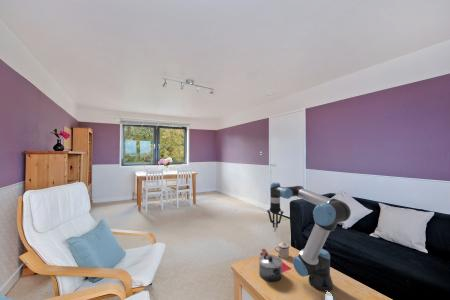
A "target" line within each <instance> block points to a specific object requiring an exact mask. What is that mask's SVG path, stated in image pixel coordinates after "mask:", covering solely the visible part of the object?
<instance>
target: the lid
mask: <svg viewBox="0 0 450 300" xmlns="http://www.w3.org/2000/svg"><path fill="white" fill-rule="evenodd" d="M261 253H263V254H264V255H262V256H261V255H260V256H259V257H258V263H260V264H261V265H262V266H263V267H265V268H269V269H277V268H280V267H281V266H283V260H282V258H281V257H280V256H277V255H274V254H269V253H268V251H267V249H266V248H262V249H261Z"/></svg>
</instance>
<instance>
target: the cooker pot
mask: <svg viewBox="0 0 450 300" xmlns="http://www.w3.org/2000/svg"><path fill="white" fill-rule="evenodd" d="M262 255H264V254H263V253H262V252H260V256H262ZM258 263H259V262H258ZM258 266H259V268H258V269H259V270H258V271H259V273H258V275H259V277H260V278H261V279H262V280H264V281H266V282H270V283H276V282H279V281H281V279H282V277H283V276H282V275H283V271H282V266H283V265H282V266H281V267H280V268H277V269H269V268H265V267H263V266H262V265H261V264H260V263H259V265H258Z"/></svg>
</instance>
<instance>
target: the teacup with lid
mask: <svg viewBox="0 0 450 300" xmlns="http://www.w3.org/2000/svg"><path fill="white" fill-rule="evenodd" d="M276 248H277V249H278V250H277V249H276ZM274 251H275V252H276V253H278V257H279V258H281V259H288V258H289V257H290V252H289V251H290V245H289V244H288V243H286V242H285V241H282V242H280V243H278V245H276V246H275V247H274Z"/></svg>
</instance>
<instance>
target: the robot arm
mask: <svg viewBox="0 0 450 300" xmlns="http://www.w3.org/2000/svg"><path fill="white" fill-rule="evenodd" d="M269 187H270V188H269V189H270V191H269V192H270V198H269V199H270V207H269V209H267V210H266V212H267V213H268V218H269V221H270V223H271V224H272V228H273V229H274V230H273V232H274V233H277V229H278V227H279V224H280V223H281V220H282V217H283V214H284V211H283V210H282V208H281V203H280V202H281V198H283V199H289V200H290V199H291V198H292V197H297V198H299V199H302V200H304V201H306V202H309V203H311V204H313V205H314V206H315V207H314V208H313V211H312V215H313V217H312V218H313V222H314V223H315V224H314V225H313V228H312V230H311V233H310V235H309V237H308V240H307V241H306V245H305V246H304V248H302V249H301V250H300V251H299V254H298V255H295V256H294V257H293V259H292V264H293V268H294V270H295V272H296V273H297V274H298V275H299V276H300V277H308V283H309V286H311V287H312V288H314V289H315V290H319V291H322V292H326V291H325V290H330V291H332V290H333V289H334V283H333V279H332V276H331V254H330V252H329V251H328V250H326V249H324V248H323V247H324V245H325V242H326V241H327V238H328V237H329V234H330V233H331V232H333V231H335V229H336V227H337V225H338V224H339V223H344V222H347V220H349V218H350V217H351V214H352V212H351V211H352V210H351V208H350V206H349V205H348V204H347V203H346V202H344V201H342V200H339V199H337V198H329V197H327V196H324V195H321V194H319V193H316V192H313V191H311V190H309V189H305V187H304V186H302V185H295V186H285V187H284V186H281V184H280V182H271V183H270V186H269ZM271 213H272V214H271ZM279 213H280V214H279ZM278 215H279V216H278Z"/></svg>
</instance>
